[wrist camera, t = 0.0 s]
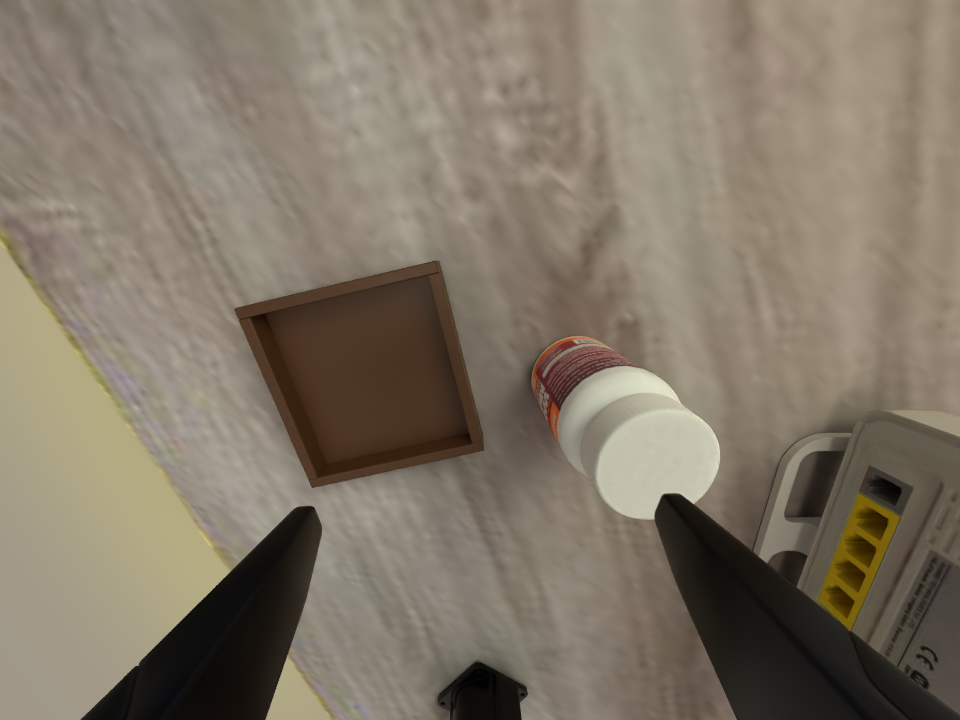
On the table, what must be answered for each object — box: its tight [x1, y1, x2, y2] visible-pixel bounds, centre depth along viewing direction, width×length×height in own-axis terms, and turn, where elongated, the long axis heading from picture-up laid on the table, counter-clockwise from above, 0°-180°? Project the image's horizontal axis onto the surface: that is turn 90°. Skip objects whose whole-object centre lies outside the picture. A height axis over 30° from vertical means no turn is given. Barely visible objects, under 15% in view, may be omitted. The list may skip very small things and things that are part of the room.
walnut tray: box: [234, 261, 484, 488], centre depth 23 cm, size 13×12×2 cm
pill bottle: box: [532, 336, 720, 519], centre depth 19 cm, size 6×6×11 cm
